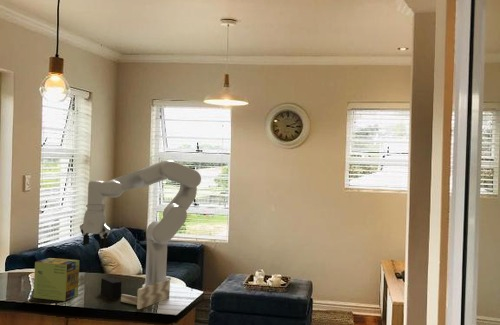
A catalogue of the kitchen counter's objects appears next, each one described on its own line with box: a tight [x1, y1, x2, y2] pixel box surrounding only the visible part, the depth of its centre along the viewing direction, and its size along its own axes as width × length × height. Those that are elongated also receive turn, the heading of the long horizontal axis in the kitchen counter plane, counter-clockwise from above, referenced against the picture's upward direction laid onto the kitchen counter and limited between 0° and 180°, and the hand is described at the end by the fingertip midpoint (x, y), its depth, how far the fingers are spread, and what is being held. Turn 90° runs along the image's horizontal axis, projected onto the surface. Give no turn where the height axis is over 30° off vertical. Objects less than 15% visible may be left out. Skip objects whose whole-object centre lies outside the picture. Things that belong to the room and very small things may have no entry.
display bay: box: [120, 279, 171, 310], centre depth 220 cm, size 21×13×8 cm, turn 154°
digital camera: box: [100, 276, 122, 299], centre depth 227 cm, size 10×5×7 cm, turn 44°
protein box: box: [32, 257, 80, 302], centre depth 222 cm, size 10×15×16 cm
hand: (94, 245), depth 232 cm, fingers open, 9 cm apart
